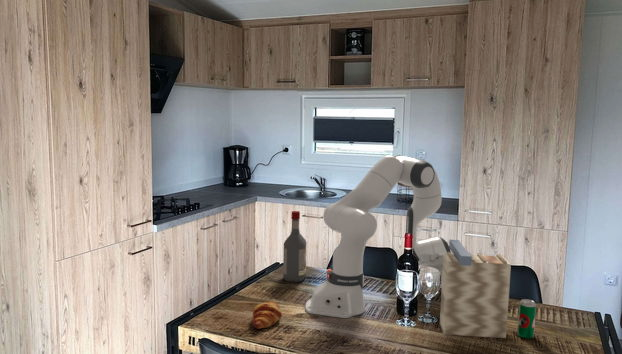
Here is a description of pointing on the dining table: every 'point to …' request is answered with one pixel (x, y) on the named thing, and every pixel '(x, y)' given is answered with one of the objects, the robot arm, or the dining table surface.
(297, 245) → the liquor
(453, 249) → the beam
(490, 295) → the zigzag patterned box
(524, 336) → the soda can
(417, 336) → the dining table surface
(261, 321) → the croissant
